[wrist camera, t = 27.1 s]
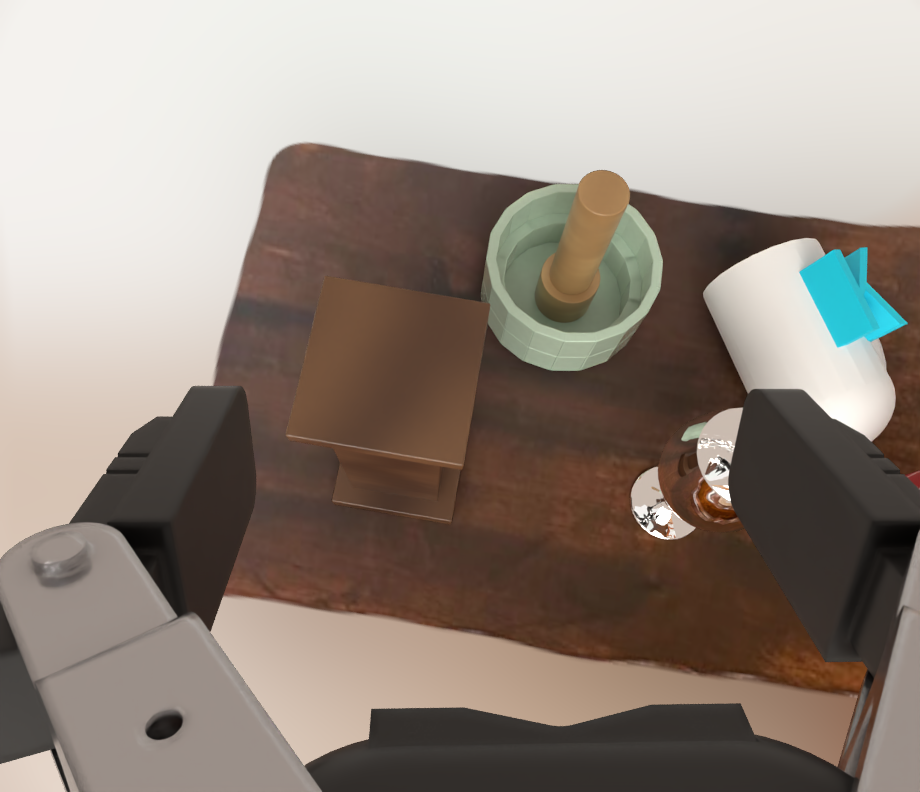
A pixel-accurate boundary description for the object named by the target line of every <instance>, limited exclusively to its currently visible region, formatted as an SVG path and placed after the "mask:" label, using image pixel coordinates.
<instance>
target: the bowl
mask: <svg viewBox="0 0 920 792" xmlns="http://www.w3.org/2000/svg"><path fill="white" fill-rule="evenodd" d="M578 185H579V184H556V185H555V184H554V185H550V186H547V187H544V188H541V189H537V190H534V191H531V192H528V193H526V194H525V195H524V196H522V197H521V198H520V199H518V200H517V201H516V202H514V203H513V204H511V205H510V206H509V207H507V208H506V210H504V212H503V214H502V215H501V217H500V218H499V220H498V222H497V223H496V225H495V226H494V228H493V229H492V231H491V233H490V239H489V245H488V251H487V256H486V263H485V269H484V275H483V282H482V288H481V300H482V302H485V303H490V305H491V306H490V312H489V318H488V325H489V326H490V328H491V329H492V331H493V332H494V334H495V336H496V337H497V339H498V340H499V342H500V343H501V344H502V345H503V346H504V347H505V348H507V349H508V350H509V351H511V352H512V353H513V354H515V355H516V356H517V357H518V358H520V359H521V360H522V361H525V362H527V363H530V364H533V365H536V366H539V367H542V368H545V369H548V370H552V371H579V370H583V369H586V368H589V367H592V366H595V365H598V364H601V363H603V362H605V361H607V360H609V359H610V358H611V357H612V356H613V355H615V354H616V353H617V352H618V351H619V350H621V349H622V348H623V347H624V346H625V345H626V344H627V343H628V341H629V340H630V338H631V337H632V335H633V334H634V333H635V331H636V330H637V328H638V327H639V325H640V324H641V322H642V321H643V319H644V318H645V316H646V315H647V313H648V312H649V310H650V308H651V306H652V304H653V302H654V300H655V299H656V297H657V295H658V293H659V291H660V288H661V279H662V268H663V259H662V256H661V253H660V249H659V246H658V242H657V239H656V236H655V235H654V232H653V231H652V229H651V228H650V227H649V225H648V224H647V223H646V221H645V220H644V218H643V217H642V216H641V214H640V213H639V212H638V211H637V210H636V209H635V208H633V207H632V206H631V205H629V204H628V205H627V208H626V210H625V212H624V214H623V216H622V218H621V220H620V223H619V225H618V227H617V229H616V231H615V233H614V236H613V238H612V240H611V242H610V244H609V246H608V248H607V251H606V253H605V255H604V257H603V259H602V261H601V264H600V266H599V268H598V269H599V272H600V285H599V287H598V290H597V292H596V294H595V296H594V298H593V300H592V302H591V304H590V306H589V308H588V310H587V312H586V313H585V314H584V315H583V316H582V317H581V318H579V319H578V320H575V321H573V322H568V323H561V322H556V321H553V320H550V319H549V318H547V317H546V316H544V315H543V314H542V313H541V312H540V310H539V309H538V307H537V305H536V302H535V289H536V286H537V283H538V279H539V276H540V273H541V270H542V267H543V264H544V263H545V261H546V260H547V258H549V257H550V256H551V255H552V254H554V253H556V251H557V248H558V245H559V242H560V239H561V236H562V233H563V230H564V227H565V224H566V221H567V218H568V215H569V212H570V209H571V206H572V203H573V200H574V197H575V194H576V191H577V188H578Z"/></svg>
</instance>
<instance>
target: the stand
mask: <svg viewBox="0 0 920 792" xmlns="http://www.w3.org/2000/svg"><path fill="white" fill-rule="evenodd" d="M490 306H491V305H490V303H485V302H479V301H473V300H467V299H461V298H456V297H450V296H444V295H438V294H432V293H426V292H420V291H414V290H408V289H402V288H396V287H390V286H385V285H379V284H373V283H367V282H361V281H355V280H349V279H343V278H337V277H331V276H325V277H324V280H323V284H322V288H321V292H320V296H319V300H318V305H317V309H316V313H315V317H314V321H313V325H312V329H311V333H310V337H309V341H308V345H307V349H306V353H305V358H304V362H303V366H302V370H301V374H300V378H299V382H298V386H297V390H296V394H295V398H294V402H293V406H292V410H291V415H290V419H289V423H288V427H287V431H286V437H287V438H288V439H289V440H290V441H295V442H301V443H307V444H313V445H318V446H324V447H330V448H333V449H334V451H335V453H336V455H337V457H338V459H339V461H340V465H339V469H338V474H337V478H336V483H335V488H334V492H333V497H332V502H333V503H334V504H335V505H340V506H345V507H351V508H357V509H363V510H369V511H374V512H380V513H386V514H392V515H398V516H403V517H409V518H415V519H421V520H427V521H432V522H438V523H444V524H451V523H452V518H453V512H454V506H455V500H456V494H457V488H458V482H459V476H460V470H462V469H463V467H464V461H465V455H466V449H467V443H468V437H469V431H470V425H471V419H472V413H473V407H474V401H475V395H476V389H477V384H478V378H479V372H480V366H481V360H482V354H483V348H484V342H485V336H486V330H487V324H488V318H489V312H490Z"/></svg>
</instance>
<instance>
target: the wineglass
mask: <svg viewBox="0 0 920 792" xmlns="http://www.w3.org/2000/svg"><path fill="white" fill-rule="evenodd" d="M742 410H743V408H729V409H723V410H717V411H713V412H710V413H707V414H704V415H701V416H698V417H696V418H694V419H693V420H691V421H689V422H687V423H686V424H684V425H683V426H681V427H680V428H679V429H678V430H677V431H676V432H675V433H674V434H673V435H672V436H671V437H670V439H669V440H668V442H667V443H666V445H665V447H664V449H663V451H662V453H661V456H660V459H659V464H658V466H657V467H653V468H651V469H648V470H646V471H645V472H643V473H642V474H641V475H640V476H639V477H638V478H637V479H636V481H635V482H634V484H633V486H632V489H631V494H630V506H631V510H632V514H633V516H634V518H635V520H636V521H637V523H638V524H639V525H640V527H641V528H643V529H644V530H645V531H646V532H647V533H649V534H650V535H652V536H654V537H657V538H659V539H664V540H676V539H680V538H683V537H685V536H687V535H689V534H690V533H691V532H693V531H694V530H695V529H696V528H698V529H701V530H704V531H709V532H719V533H725V532H735V531H739V530H742V529H745V528H744V526H743V525H742V523H741V521H740V520H739V518H738V516H737V515H736V513H735V511H734V509H733V507H732V505H731V501H730V497H729V490H728V476H729V469H730V465H731V460H732V456H733V451H734V447H735V442H736V438H737V433H738V429H739V424H740V419H741V415H742Z"/></svg>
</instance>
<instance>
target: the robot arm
mask: <svg viewBox="0 0 920 792" xmlns="http://www.w3.org/2000/svg"><path fill="white" fill-rule="evenodd" d="M106 471H107V472H106V474H103V476H102V477H101V478H100V480H99V481H98V483H97V484H96V486H95V487H94V488H93V490H92V491H91V493H90V494H89V496H88V497H87V498H86V500H85V502H84V503H83V504H82V506H81V507H80V509H79V510H78V511H77V513H76V514H75V516H74V517H73V519H72V520H71V521H70V523H69V524H66V525H61V526H57V527H53V528H50V529H46V530H44V531H41V532H39V533H36V534H34V535H32V536H30V537H28V538H26V539H24V540H23V541H21V542H19V543H18V544H16V545H15V546H14V547H12V548H11V549H10V550H8V551H7V552H6V553H5V554H4V555H3V556H2V558H1V559H0V764H1V763H5V762H9V761H12V760H16V759H19V758H23V757H26V756H30V755H33V754H37V753H40V752H44V751H47V750H50V752H51V755H52V757H53V760H54V763H55V765H56V768H57V770H58V773H59V775H60V778H61V781H62V784H63V786H64V789H65V791H66V792H920V489H919V488H918V487H917V486H916V485H915V484H914V483H913V482H912V481H911V480H910V479H909V478H908V477H907V476H905V475H904V474H900V470H899V469H898V468H897V467H896V466H895V465H894V464H893V463H892V462H891V461H890V460H889V459H888V458H884V454H883V453H882V452H881V451H880V450H879V449H878V448H877V447H876V446H875V445H874V444H873V443H872V442H871V441H870V440H869V439H868V438H867V437H866V436H865V435H863V434H861V433H860V432H858V431H856V430H854V429H853V428H851V427H849V426H847V425H845V424H844V423H842V422H840V421H838V420H836V419H832V418H831V417H830V416H829V415H828V414H827V413H826V412H825V411H824V410H823V409H822V408H821V407H820V406H819V405H818V404H817V403H816V402H815V401H814V400H813V399H812V398H811V397H810V396H809V395H808V394H807V393H806V392H805V391H804V390H802V389H753V390H751V391H750V392H749V393H748V395H747V397H746V399H745V402H744V406H743V410H742V415H741V419H740V424H739V429H738V433H737V438H736V442H735V447H734V451H733V456H732V460H731V465H730V469H729V476H728V490H729V497H730V501H731V505H732V507H733V509H734V511H735V513H736V515H737V516H738V518H739V520H740V521H741V523H742V525H743V526H744V528H745V530H746V531H747V533H748V534H749V536H750V538H751V539H752V541H753V543H754V544H755V546H756V548H757V549H758V551H759V553H760V554H761V556H762V558H763V559H764V561H765V563H766V564H767V566H768V568H769V569H770V571H771V573H772V574H773V576H774V577H775V579H776V581H777V582H778V584H779V586H780V587H781V589H782V591H783V592H784V594H785V596H786V597H787V599H788V601H789V602H790V604H791V606H792V607H793V609H794V611H795V612H796V614H797V616H798V617H799V619H800V621H801V622H802V624H803V625H804V627H805V629H806V630H807V632H808V634H809V635H810V637H811V639H812V640H813V642H814V644H815V645H816V647H817V649H818V650H819V652H820V654H821V655H822V657H823V659H824V660H825V662H861V661H863V662H864V664H865V665H866V667H867V668H868V669H867V672H866V675H865V677H864V680H863V683H862V685H861V688H860V691H859V695H858V698H857V702H856V705H855V709H854V712H853V716H852V719H851V722H850V726H849V730H848V733H847V737H846V740H845V743H844V747H843V750H842V754H841V757H840V761H839V764H838V767H836V766H834V765H833V764H831V763H829V762H827V761H825V760H823V759H821V758H819V757H817V756H815V755H813V754H811V753H809V752H806V751H804V750H801V749H799V748H796V747H794V746H792V745H789V744H786V743H783V742H780V741H777V740H773V739H770V738H767V737H763V736H758V735H754V733H753V731H752V728H751V726H750V724H749V722H748V719H747V717H746V715H745V713H744V710H743V708H742V706H741V704H675V705H674V704H672V705H649V706H645V707H641V708H637V709H633V710H629V711H625V712H621V713H617V714H614V715H609V716H606V717H602V718H598V719H594V720H590V721H586V722H582V723H578V724H575V725H570V726H550V725H546V724H541V723H536V722H531V721H526V720H522V719H517V718H512V717H507V716H502V715H497V714H492V713H488V712H483V711H478V710H473V709H468V708H405V709H403V708H402V709H371V722H370V734H369V739H368V740H364V741H361V742H357V743H353V744H351V745H347V746H345V747H342V748H340V749H337V750H334V751H332V752H329V753H327V754H325V755H323V756H321V757H320V758H317V759H315V760H313V761H311V762H309V763H308V764H306V765H305V766H304V765H303V764H302V762H301V761H300V759H299V758H298V757H297V755H296V754H295V752H294V751H293V749H292V748H291V747H290V745H289V744H288V742H287V741H286V740H285V738H284V737H283V735H282V734H281V732H280V731H279V730H278V728H277V727H276V725H275V724H274V723H273V721H272V720H271V718H270V717H269V715H268V714H267V712H266V711H265V710H264V708H263V707H262V705H261V704H260V702H259V701H258V700H257V698H256V697H255V695H254V694H253V693H252V691H251V690H250V688H249V687H248V685H247V684H246V683H245V681H244V680H243V678H242V677H241V675H240V674H239V673H238V671H237V670H236V668H235V667H234V665H233V664H232V663H231V661H230V660H229V658H228V657H227V656H226V654H225V653H224V651H223V650H222V648H221V647H220V646H219V644H218V643H217V641H216V640H215V639H214V637H213V636H212V634H211V633H210V631H211V629H212V626H213V623H214V620H215V617H216V614H217V611H218V609H219V606H220V603H221V600H222V597H223V594H224V591H225V589H226V586H227V583H228V580H229V577H230V574H231V571H232V569H233V566H234V563H235V560H236V557H237V554H238V551H239V548H240V546H241V543H242V540H243V537H244V534H245V531H246V528H247V526H248V523H249V520H250V517H251V514H252V511H253V508H254V503H255V495H256V470H255V461H254V453H253V445H252V437H251V428H250V420H249V412H248V404H247V398H246V394H245V391H244V389H243V387H242V386H193V387H191V388H190V390H189V391H188V393H187V395H186V396H185V398H184V399H183V401H182V403H181V404H180V406H179V407H178V409H177V411H176V412H175V414H174V415H173V417H156V418H154V419H153V420H151V421H150V422H148V423H147V424H145V425H144V426H142V427H141V428H139V429H138V430H136V431H135V432H134V433H132V434H131V435H130V437H129V438H128V440H127V441H126V442H125V444H124V445H123V447H122V448H121V450H120V451H119V453H118V457H115V458H114V460H113V461H112V463H111V464H110V465H109V467H108V468H107V470H106Z"/></svg>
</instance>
